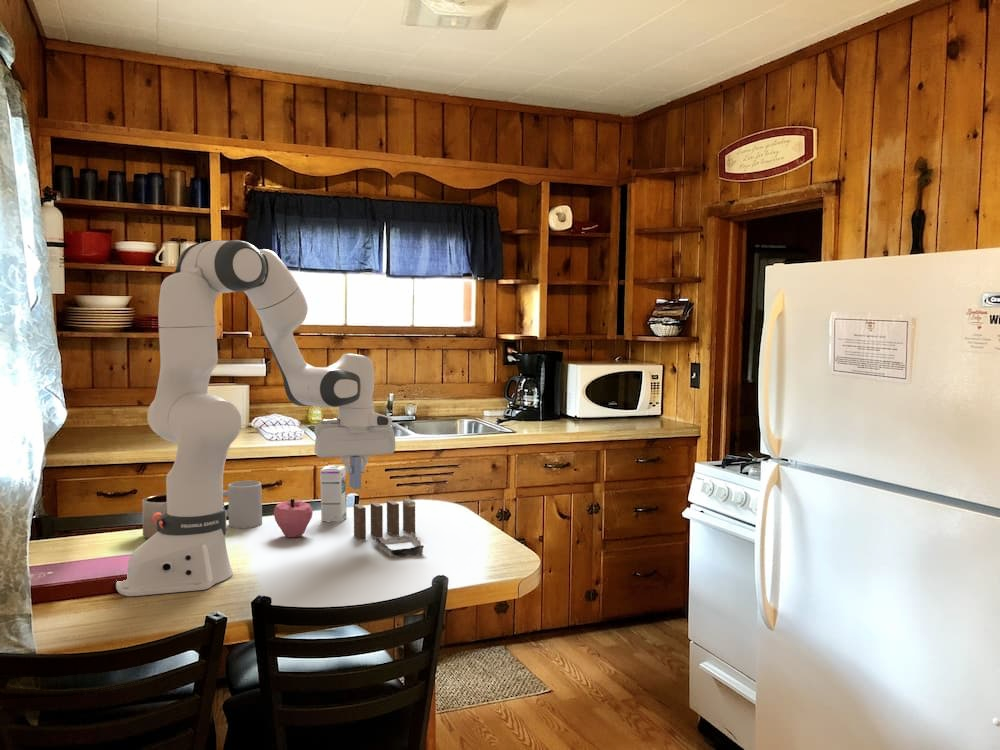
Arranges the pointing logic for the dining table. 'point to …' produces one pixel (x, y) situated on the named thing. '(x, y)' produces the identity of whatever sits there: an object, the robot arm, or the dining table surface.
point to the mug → (244, 504)
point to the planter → (152, 512)
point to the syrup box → (333, 493)
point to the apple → (293, 517)
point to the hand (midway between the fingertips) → (355, 473)
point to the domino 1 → (355, 472)
